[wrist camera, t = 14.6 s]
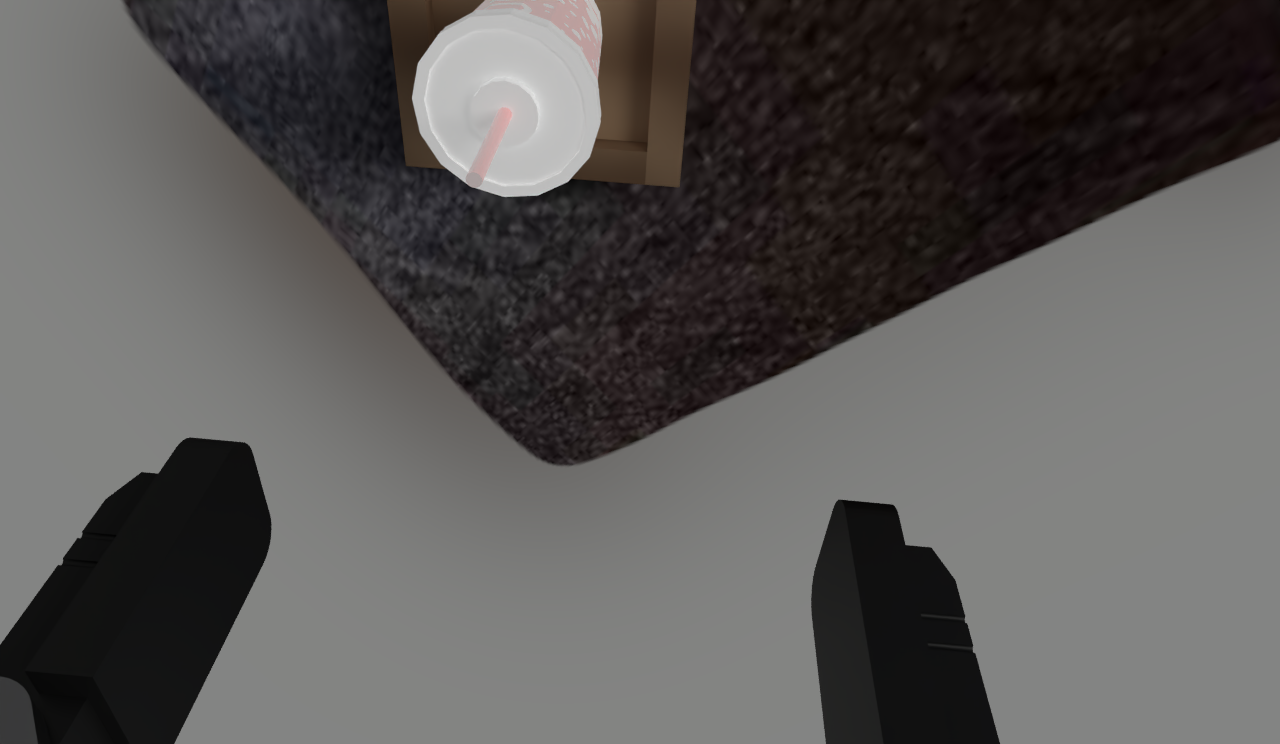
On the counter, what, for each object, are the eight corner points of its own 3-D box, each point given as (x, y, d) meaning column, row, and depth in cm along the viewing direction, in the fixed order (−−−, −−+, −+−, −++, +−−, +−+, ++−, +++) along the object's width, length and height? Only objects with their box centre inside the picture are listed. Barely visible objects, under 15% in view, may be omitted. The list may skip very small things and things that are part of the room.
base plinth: (396, -163, 34) (369, -149, 31) (707, -140, 34) (707, -125, 31) (425, 134, 42) (406, 165, 39) (681, 153, 41) (679, 187, 39)
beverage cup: (629, -43, 34) (592, 88, 23) (613, 110, 38) (574, 287, 27) (470, -67, 34) (356, 54, 23) (469, 90, 38) (371, 259, 27)
